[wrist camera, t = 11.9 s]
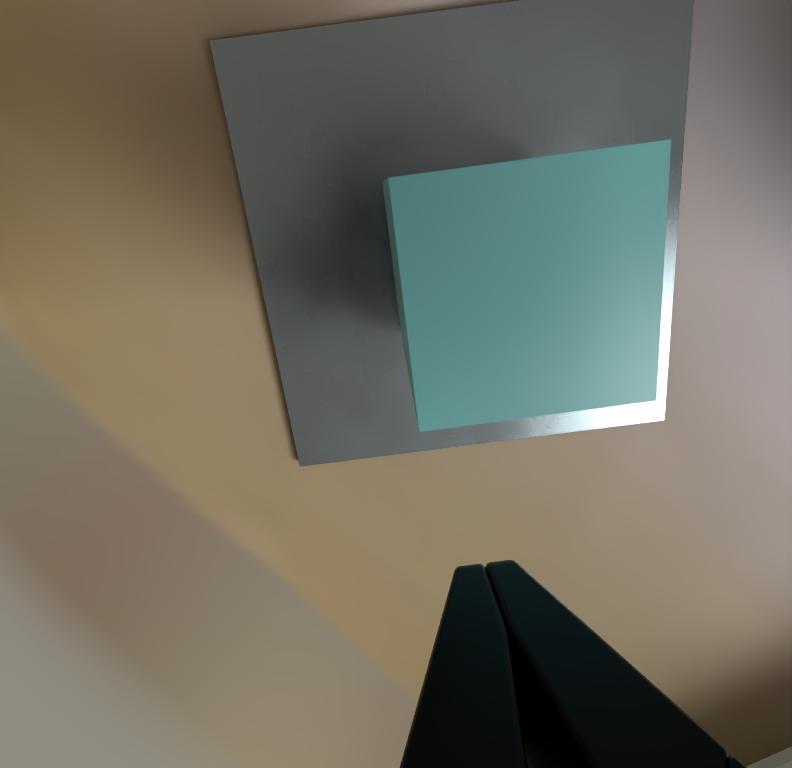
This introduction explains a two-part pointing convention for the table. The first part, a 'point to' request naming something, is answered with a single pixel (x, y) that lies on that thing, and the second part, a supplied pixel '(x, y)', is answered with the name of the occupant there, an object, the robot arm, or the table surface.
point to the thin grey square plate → (420, 153)
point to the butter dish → (775, 760)
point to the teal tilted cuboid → (531, 283)
